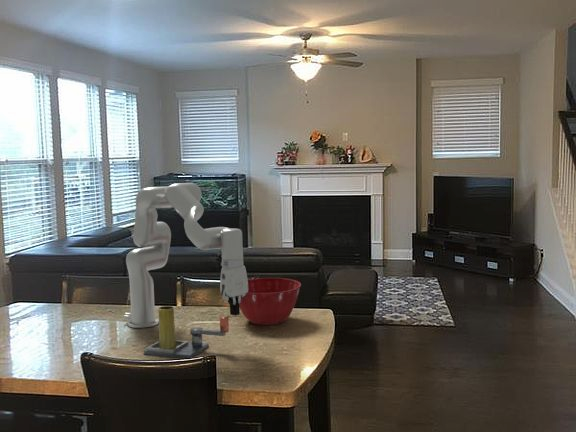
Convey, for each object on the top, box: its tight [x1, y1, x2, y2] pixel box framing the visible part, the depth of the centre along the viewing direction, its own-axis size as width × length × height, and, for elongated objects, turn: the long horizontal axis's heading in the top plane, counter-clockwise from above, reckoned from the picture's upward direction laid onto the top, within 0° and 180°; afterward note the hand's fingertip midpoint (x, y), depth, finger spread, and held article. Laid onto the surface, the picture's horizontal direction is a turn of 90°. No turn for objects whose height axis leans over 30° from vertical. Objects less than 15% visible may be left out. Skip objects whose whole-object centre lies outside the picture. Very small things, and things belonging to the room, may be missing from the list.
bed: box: [143, 334, 210, 359], centre depth 213 cm, size 18×14×5 cm
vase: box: [158, 305, 177, 349], centre depth 213 cm, size 6×6×14 cm
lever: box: [189, 316, 230, 337], centre depth 213 cm, size 15×4×6 cm, turn 71°
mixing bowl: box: [239, 277, 302, 326], centre depth 250 cm, size 28×28×16 cm
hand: (234, 314), depth 214 cm, fingers closed
